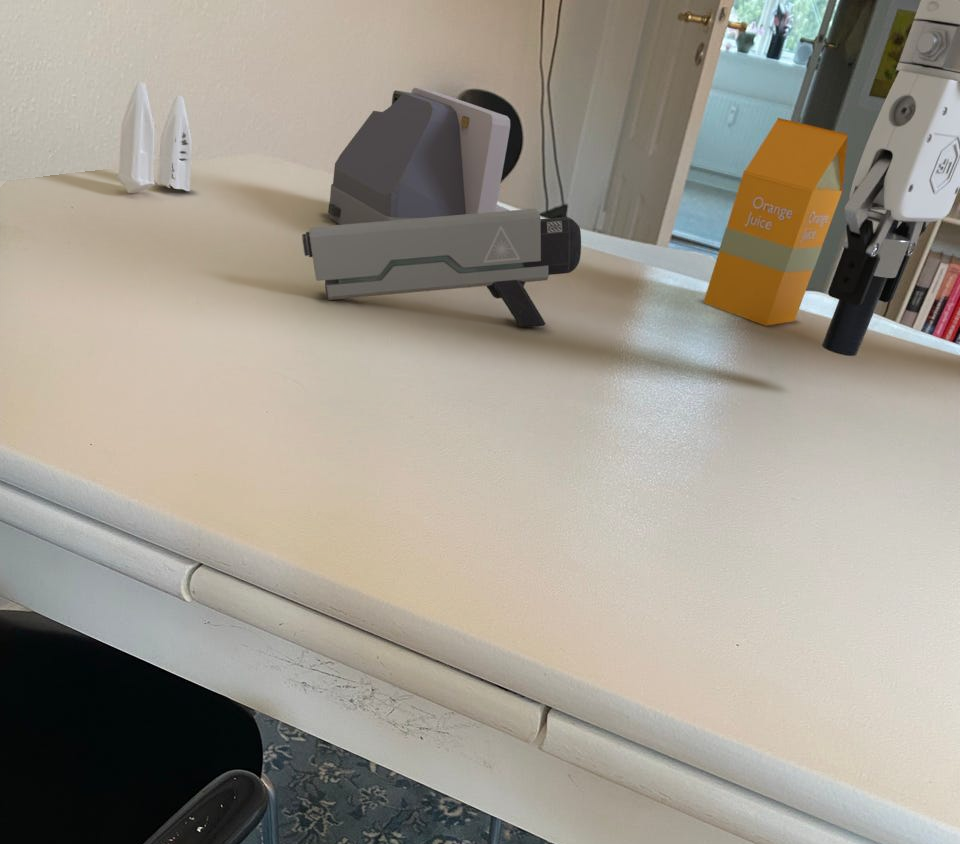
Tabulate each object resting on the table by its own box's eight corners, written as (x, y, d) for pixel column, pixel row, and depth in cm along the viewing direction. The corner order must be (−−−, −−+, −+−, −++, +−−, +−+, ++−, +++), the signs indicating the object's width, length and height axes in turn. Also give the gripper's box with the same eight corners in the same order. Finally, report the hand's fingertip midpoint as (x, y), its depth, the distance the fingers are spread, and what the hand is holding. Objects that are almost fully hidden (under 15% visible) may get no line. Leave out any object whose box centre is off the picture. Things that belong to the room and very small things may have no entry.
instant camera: (531, 270, 107) (559, 127, 99) (363, 254, 99) (378, 97, 90) (465, 225, 123) (485, 98, 114) (315, 208, 114) (324, 70, 106)
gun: (582, 323, 86) (584, 209, 81) (318, 348, 84) (301, 233, 78) (576, 315, 88) (578, 204, 83) (318, 339, 86) (301, 227, 80)
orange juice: (765, 326, 105) (833, 132, 94) (702, 302, 109) (759, 114, 98) (795, 321, 110) (863, 136, 99) (734, 298, 115) (792, 119, 103)
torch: (831, 340, 86) (874, 227, 80) (872, 356, 83) (919, 241, 77) (806, 343, 83) (848, 227, 77) (848, 360, 81) (895, 241, 75)
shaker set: (136, 201, 100) (132, 86, 94) (105, 192, 101) (99, 77, 95) (202, 192, 110) (202, 87, 104) (173, 184, 111) (171, 80, 105)
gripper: (949, 53, 63) (847, 318, 73) (1041, 77, 73) (940, 307, 83) (855, 37, 67) (771, 290, 78) (954, 62, 77) (868, 283, 88)
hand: (860, 296), depth 80 cm, fingers closed on torch, 4 cm apart
